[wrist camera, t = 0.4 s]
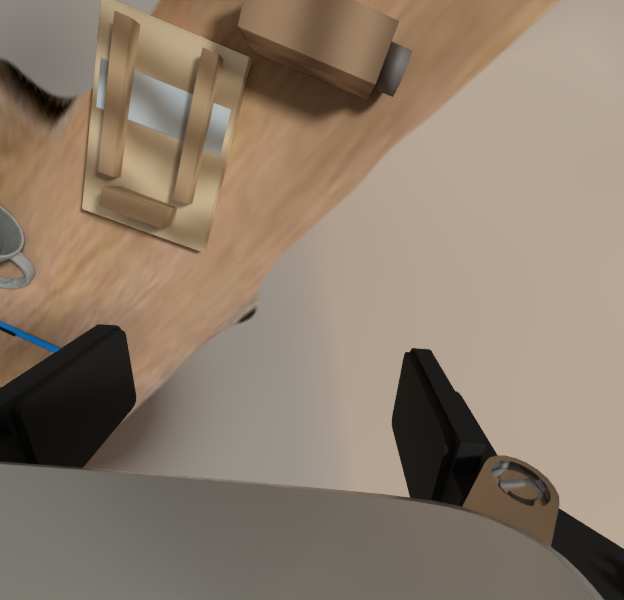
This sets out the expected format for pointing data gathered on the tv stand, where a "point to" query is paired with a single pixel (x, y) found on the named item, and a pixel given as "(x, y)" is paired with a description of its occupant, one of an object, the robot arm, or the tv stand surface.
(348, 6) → the brown wooden block
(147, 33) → the jig
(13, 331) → the pen
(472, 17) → the tv stand surface
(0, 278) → the ceramic mug
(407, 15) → the tv stand surface
